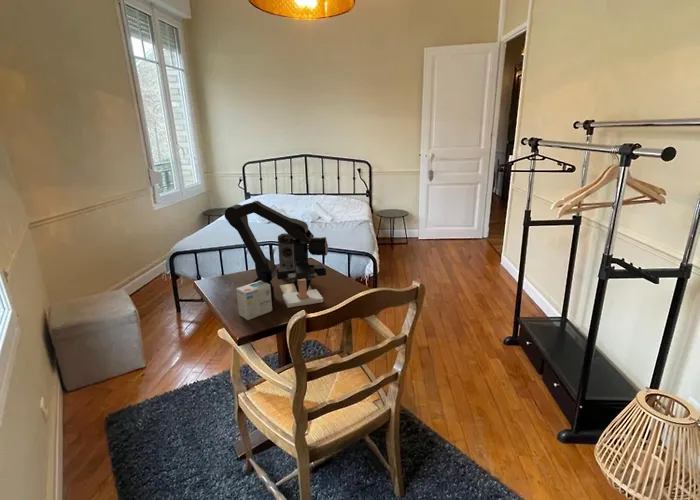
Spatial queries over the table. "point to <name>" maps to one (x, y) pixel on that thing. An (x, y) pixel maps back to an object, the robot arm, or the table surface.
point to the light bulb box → (254, 299)
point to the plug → (302, 289)
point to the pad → (290, 288)
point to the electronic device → (285, 252)
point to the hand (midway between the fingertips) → (302, 292)
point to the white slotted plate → (293, 299)
